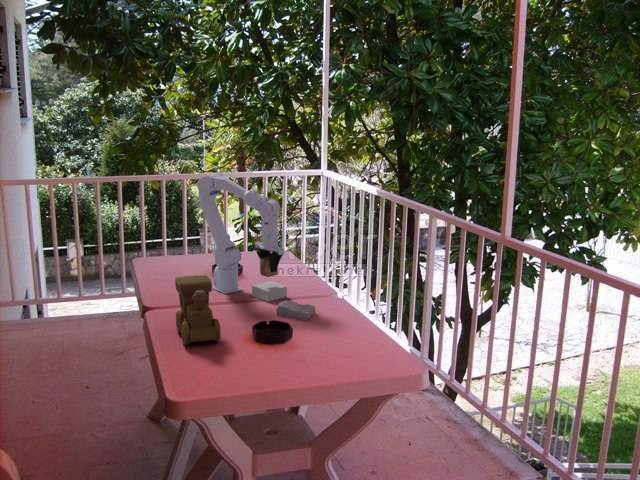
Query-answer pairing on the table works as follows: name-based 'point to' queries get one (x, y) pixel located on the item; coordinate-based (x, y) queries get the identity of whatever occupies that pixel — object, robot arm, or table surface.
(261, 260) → the walnut block
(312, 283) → the table surface
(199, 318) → the wooden toy train
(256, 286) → the plinth
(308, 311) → the stone block
